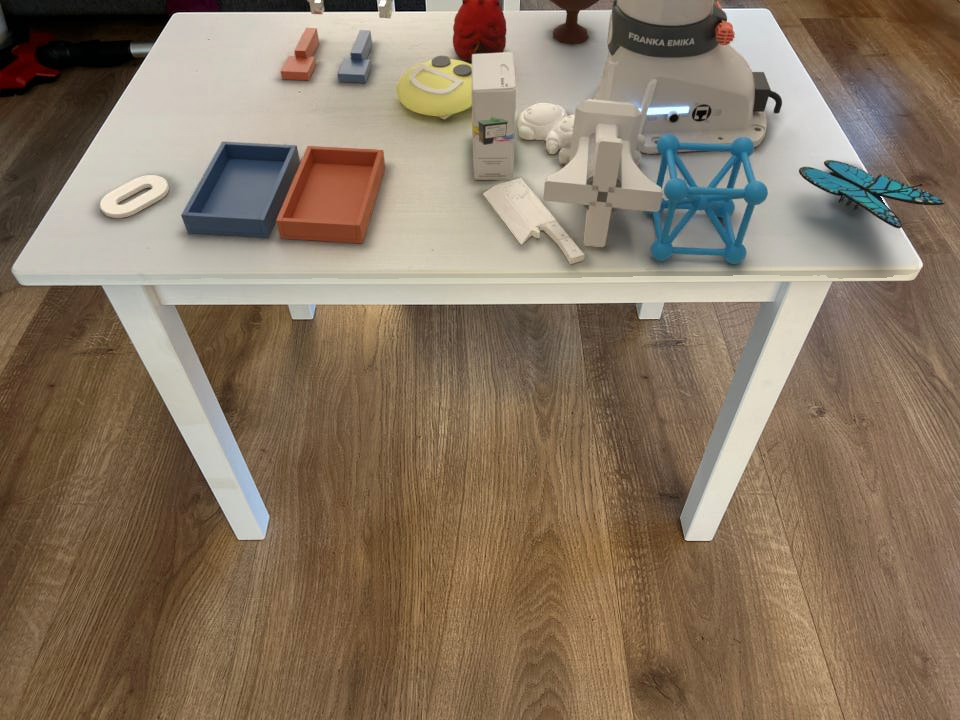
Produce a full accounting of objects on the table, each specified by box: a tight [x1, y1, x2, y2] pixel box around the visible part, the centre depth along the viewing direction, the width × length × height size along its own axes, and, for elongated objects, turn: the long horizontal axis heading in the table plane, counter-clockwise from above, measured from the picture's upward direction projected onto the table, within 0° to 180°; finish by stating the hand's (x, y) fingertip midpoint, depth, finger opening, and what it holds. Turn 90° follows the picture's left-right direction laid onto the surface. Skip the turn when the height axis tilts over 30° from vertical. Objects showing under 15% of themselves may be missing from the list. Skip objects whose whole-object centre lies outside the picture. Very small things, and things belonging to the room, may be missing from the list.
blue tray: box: [180, 141, 301, 239], centre depth 87 cm, size 9×14×2 cm, turn 175°
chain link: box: [99, 174, 170, 219], centre depth 88 cm, size 8×1×5 cm
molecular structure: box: [645, 134, 769, 265], centre depth 79 cm, size 10×10×10 cm
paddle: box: [337, 29, 373, 84], centre depth 108 cm, size 4×11×2 cm, turn 175°
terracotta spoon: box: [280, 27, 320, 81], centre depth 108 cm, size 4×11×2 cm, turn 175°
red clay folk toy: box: [452, 0, 507, 65], centre depth 104 cm, size 8×7×15 cm
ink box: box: [471, 51, 517, 181], centre depth 88 cm, size 8×5×12 cm, turn 1°
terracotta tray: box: [275, 145, 386, 244], centre depth 87 cm, size 9×14×2 cm, turn 175°
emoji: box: [395, 55, 472, 121], centre depth 100 cm, size 4×12×12 cm
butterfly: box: [798, 159, 946, 229], centre depth 84 cm, size 19×13×5 cm
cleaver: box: [482, 177, 585, 265], centre depth 84 cm, size 5×15×1 cm, turn 24°
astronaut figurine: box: [517, 102, 575, 155], centre depth 95 cm, size 9×12×3 cm
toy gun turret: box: [542, 60, 664, 248], centre depth 83 cm, size 12×13×18 cm
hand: (351, 14), depth 104 cm, fingers open, 8 cm apart
